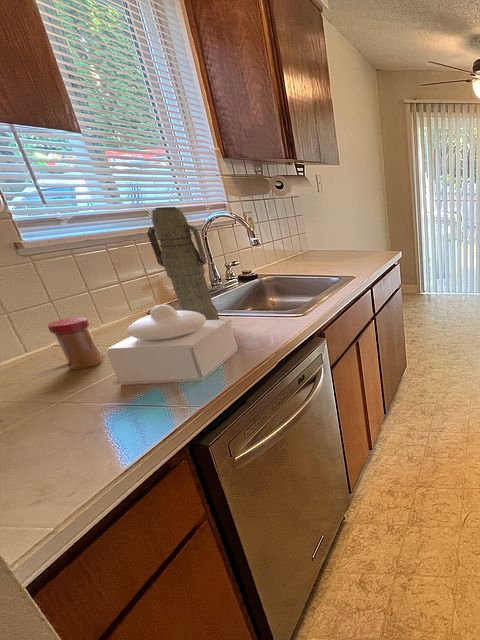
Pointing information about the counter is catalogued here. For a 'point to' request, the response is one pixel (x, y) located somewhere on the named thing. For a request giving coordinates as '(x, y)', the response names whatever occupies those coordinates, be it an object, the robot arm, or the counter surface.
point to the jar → (79, 349)
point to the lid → (68, 325)
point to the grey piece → (182, 260)
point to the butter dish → (172, 347)
